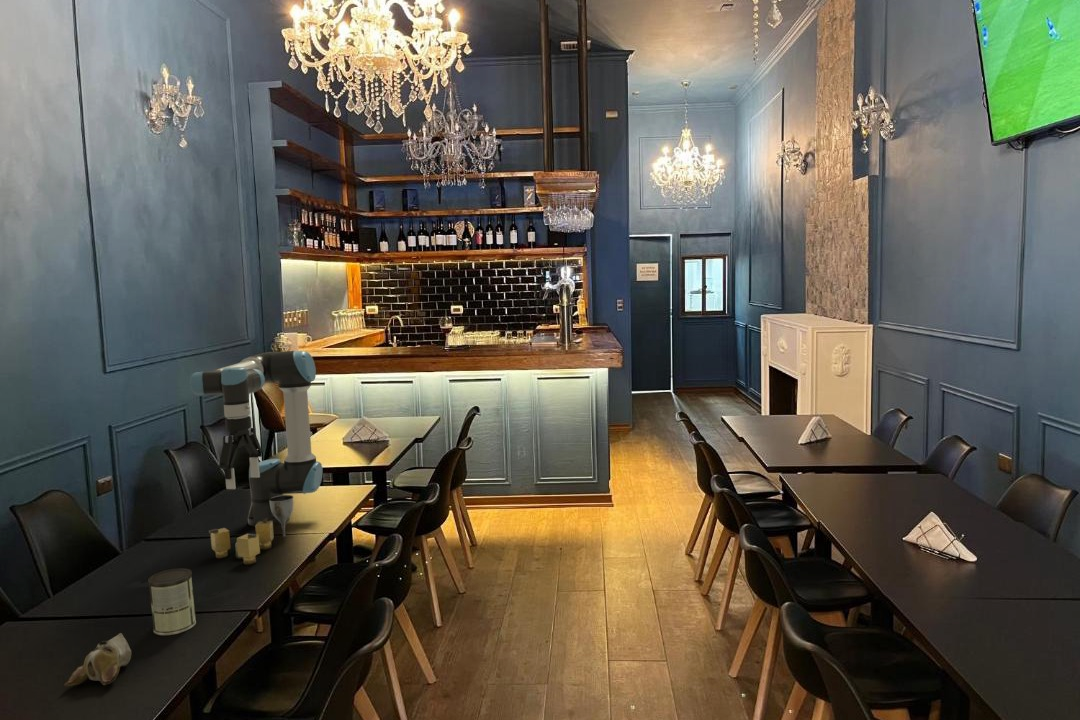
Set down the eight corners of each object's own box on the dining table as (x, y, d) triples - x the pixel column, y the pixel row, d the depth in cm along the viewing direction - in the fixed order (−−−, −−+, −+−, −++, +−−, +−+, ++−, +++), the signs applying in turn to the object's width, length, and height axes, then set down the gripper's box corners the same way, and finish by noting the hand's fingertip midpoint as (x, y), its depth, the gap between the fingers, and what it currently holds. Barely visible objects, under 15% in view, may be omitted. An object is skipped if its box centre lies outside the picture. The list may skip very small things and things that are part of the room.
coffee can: (146, 629, 203) (141, 577, 202) (184, 615, 211) (180, 565, 210) (164, 639, 197) (159, 586, 195) (203, 624, 205) (198, 573, 203)
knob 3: (271, 549, 258) (269, 522, 257) (257, 550, 258) (255, 523, 257) (274, 543, 264) (272, 517, 263) (260, 545, 263) (258, 518, 262)
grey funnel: (300, 535, 276) (296, 494, 274) (290, 543, 268) (287, 501, 267) (278, 536, 277) (275, 495, 275) (268, 543, 269) (265, 501, 267)
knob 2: (238, 564, 245) (236, 535, 244) (249, 559, 250) (247, 531, 249) (252, 565, 243) (249, 537, 242) (262, 560, 247) (260, 532, 246)
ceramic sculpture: (141, 625, 184) (103, 660, 170) (146, 659, 186) (108, 696, 171) (98, 627, 185) (56, 661, 170) (103, 660, 186) (62, 697, 172)
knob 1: (226, 552, 257) (224, 525, 256) (231, 556, 253) (228, 528, 252) (209, 556, 253) (207, 529, 253) (213, 560, 250) (211, 532, 249)
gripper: (225, 424, 229) (231, 494, 231) (269, 409, 253) (275, 472, 256) (202, 424, 230) (208, 493, 233) (249, 409, 255) (254, 472, 257)
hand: (243, 483), depth 244 cm, fingers open, 13 cm apart
